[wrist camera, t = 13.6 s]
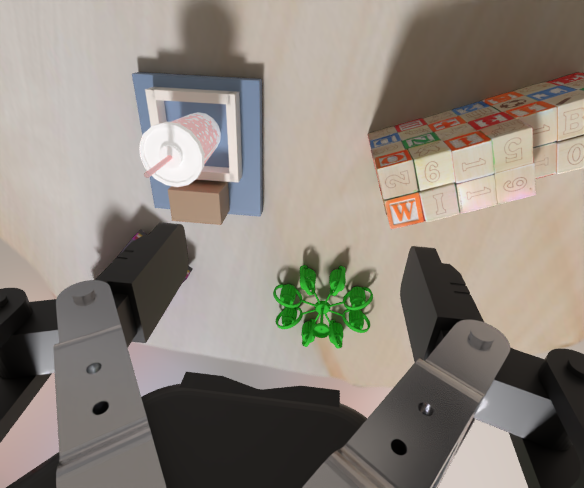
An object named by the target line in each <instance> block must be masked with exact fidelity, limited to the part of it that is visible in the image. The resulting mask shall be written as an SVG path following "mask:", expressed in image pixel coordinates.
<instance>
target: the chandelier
mask: <svg viewBox="0 0 584 488" xmlns="http://www.w3.org/2000/svg"><path fill="white" fill-rule="evenodd" d="M345 271H346V270H345V267H343V266H340V267H339V268H338V269H336V270H333V271H332V272H331V273H330V280H329V283H330V294H329V295H328V297H327V299H326V301H319V299H318V297H317V295H316V293H315V281H316V274H315V272H314V271H313V270H312V269H309V268H308V267H307V266H306V265H303V266H301V267H300V286H301V288H302V289H303V290H305V291H306V292H307V294H308V295H313V294H314V295H315V297H316V299H317V301H318V302H317V303H316V304H312V303H309V302H306V301H304V300H302V295H301V294H300V292H299V291H298V290H297V289H295V287H294V286H293V285H290V284H287V285H283V284H281V285H278V286H276V288H275V289H274V292H273V295H274V298H275V299H276V301H277V302H278V303H280V304H281V305H283V306H285V308H284V310H283V311H282V312H280V313H279V315H278V316H277V318H276V324H277V326H278V327H279V328H281V329H288V328H291V327H293V326H295V325H296V324H297V323H298V322H299V321H300V320H301V318H302V316H303V314H306V313H310V312H314V311H317V312H318V315H317V317H316V319H315V320H314V319H311V320H310V321H311V322H310V321H308V322H305V323H304V324H303V327H302V339H303V340H302V345H303V346H305V347H307V346H308V345H309V343H311V342H313V341H314V338H315V336H316V337H319V338H325V337H327V336H328V335H329V339H330V342H331V343H333V344H334V345H335V347H336V348H341V347H342V338H343V327H342V325H341V324H340V323H334V322H336V321H335V320H331V321H330V320H329V318H328V316H327V314H326V313H328V311H329V312H332V313H335V314H338V315H340V316H342V318H343V321H344V323H345V324H346V325H347V326H348V327H349V328H350V329H352V330H353V331H356V332H359V333H364V332H367V331H368V329H369V328H370V321H369V319H368V318H367V317H366V315H364V314H363V313H362V311H361V310H359V309H362V308H364V307H366V306H367V305H368V304H370V302H371V301H372V299H373V294H372V292H371V290H370V289H369V288H366V287H362V288H361V287H353V288H352V289H351V290H350V291H349V292H348V293H347V294H346V295H345V296H344V298H343V302H339V303H336V304H332V305H330V304H329V303H328V302H327V301H328V299H329V297H330V295H332V296H336V295H337V294H338V292H339V291H342V290H343V289H344V286H345V283H346V282H345ZM309 278H310V279H309ZM289 286H290V287H289ZM278 288H282V289H281V294H280V299H279V298H278V297H277V295H276V289H278ZM310 290H312V292H311V291H310ZM364 290H366V291H368V292H370V293H371V295H370V298H369V299H368V301H366V297H365V291H364ZM333 291H334V292H333ZM296 294H297V295H298V296H299V298H300V302H299V303H298V304H293V302H294V300H295V296H296ZM349 295H350V302H351V305H352V307H350V306H347V305H346V304H345V302H346V299H347V298H348V296H349ZM365 301H366V302H365ZM301 302H304V303H307V304H310V305H312V306H315V309H314V310H311V311H307V312H304V313H302V310H301V309H300V308H299V307H298V306H299V305H300V304H301ZM342 303H344V305H345V307H346V308H347V309H346V310H345V311H344V313H343V314H340V313H337V312H334V311H331V310H329V309H330V307H331V306H335V305H339V304H342ZM296 309H297V310H300V315H299V317H298V319H297V320H296V317H297V310H296ZM354 310H355V311H354ZM346 312H349V322H348V321H347V320H346V318H345V313H346ZM290 313H291V314H290ZM320 314H321V319H320V323H318V324H316V321H317V319H318V317H319V315H320ZM323 314H325V316H326V318H327V320H328V322H329V327H328V325H326V324H324V323H323ZM281 316H282V324H283V326H280V325H278V321H279V319H280V317H281ZM364 319H365V320H366V322H367V325H368V328H367V329H364V330H361V329H362V328H363V325H364ZM315 324H316V325H315ZM338 344H339V345H338Z"/></svg>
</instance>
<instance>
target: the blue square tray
mask: <svg viewBox="0 0 584 488" xmlns="http://www.w3.org/2000/svg"><path fill="white" fill-rule="evenodd" d="M132 77H133V83H134V89H135V95H136V100H137V106H138V112H139V118H140V124H141V130H142V135H143V134H144V133H145V132H146V131H147V130H148V129H149V128H150V127H151V126H153V125H156V124H159V123H163V122H171V121H174V120H177V119H179V118H182V117H184V116H187V115H190V114H193V113H197V112H199V113H205V114H207V115H209V116H210V117H212V118H213V119H214V120H215V122H216V123H217V124H218V126H219V129H220V132H221V137H220V142H219V144H218V146H217V148H216V149H215V151H214V152H213V153H212V155H211V156H210V157H209V159H208V160H207V161H206V163H205V164H204V167H203V169H202V171H201V173H200V175H199V176H198V178H197V179H196V180H194V181H193V182H192V183H190V184H189V185H186V186H181V187H174V186H168V185H165V184H163V183H161V182H159V181H158V180H156V179H154V178H153V177H152V175H151V176H150V182H151V188H152V193H153V199H154V205H155V208H164V209H171V216H172V221H181V222H193V223H205V224H217V225H221V224H222V223H223V221H224V219H225V218H226V216H227V214H237V215H249V216H261V214H262V212H263V199H262V79H253V78H235V77H217V76H198V75H180V74H161V73H143V72H137V73H133V74H132Z"/></svg>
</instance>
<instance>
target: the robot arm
mask: <svg viewBox="0 0 584 488" xmlns="http://www.w3.org/2000/svg"><path fill="white" fill-rule="evenodd" d="M188 264H189V262H188V253H187V245H186V238H185V230H184V227H183V225H181V224H172V223H159V224H158V225H157V226H156V227H155V228H154V230H153V231H152V232H151V233H150V234H149V235H143V236H141V237H139V238H137V239H136V240H134V241H132V242H131V243H130V244H129V245H128V246H127V247H126V248H125V249H124V252H121V254H120V255H119V256H118V257H117V259H115V260H114V261H113V262H112V263H111V264H110V265H109V266H108V267H107V268H106V269H105V270H104V271H103V272H102V273H101V274H100V276H99V277H98V278H97V279H96V280H89V281H83V282H79V283H76V284H74V285H72V286H70V287H68V288H66V289H65V290H63V291H62V292H61V293H60V294H59V295H58V297H57V299H54V300H44V301H35V302H29V301H28V298H27V296H26V294H25V292H24V291H23V290H21V289H18V288H4V289H0V442H1V441H2V440H3V438H4V437H5V436H6V434H7V433H8V432H9V430H10V429H11V428H12V426H13V425H14V424H15V422H16V421H17V420H18V418H19V417H20V416H21V414H22V413H23V411H24V410H25V409H26V408H27V406H28V405H29V404H30V402H31V401H32V400H33V398H34V397H35V396H36V394H37V393H38V391H39V390H40V388H41V387H42V386H43V385H44V383H45V382H46V381H47V379H48V378H49V377H50V375H51V374H52V373H55V384H56V385H55V387H56V403H57V420H58V437H59V452H58V453H57V454H55V455H54V456H52V457H51V458H50V459H48V460H46V461H45V462H43V463H42V464H40V465H39V466H37V467H36V468H34V469H33V470H31V471H30V472H28V473H27V474H25V475H24V476H23V477H21V478H20V479H18V480H17V481H15V482H14V483H12V484H11V485H9V486H8V487H6V488H438V486H439V484H440V483H441V481H442V479H443V477H444V475H445V473H446V471H447V469H448V468H449V466H450V464H451V462H452V460H453V459H454V457H455V455H456V453H457V451H458V450H459V447H460V446H461V444H462V443H463V441H464V439H465V437H466V435H467V434H468V432H469V430H470V428H471V426H472V424H473V423H474V421H475V419H477V420H479V421H482V422H484V423H487V424H489V425H492V426H494V427H496V428H499V429H501V430H504V431H506V432H509V434H510V437H511V440H512V443H513V446H514V448H515V451H516V454H517V457H518V460H519V463H520V465H521V468H522V471H523V474H524V476H525V480H526V482H527V485H528V488H584V354H582V353H579V352H577V351H573V350H569V349H554V350H552V351H550V352H549V353H548V355H547V356H546V358H545V359H541V358H539V357H535V356H532V355H529V354H526V353H523V352H520V351H518V350H515V349H513V348H511V347H510V343H509V341H508V340H507V338H506V337H505V336H504V335H503V334H502V333H501V332H500V331H499V330H498V329H496V328H495V327H493V326H491V325H489V324H487V323H484V321H483V319H482V317H481V315H480V313H479V311H478V309H477V306H476V304H475V302H474V300H473V298H472V296H471V295H470V292H469V290H468V288H467V286H465V285H466V284H465V282H464V280H463V278H462V276H461V274H460V273H459V272H458V271H457V270H456V269H455V268H454V267H452V266H451V265H450V264H444V263H441V260H440V258H439V256H438V253H437V251H436V249H435V248H427V247H416V246H412V247H411V248H410V251H409V254H408V259H407V263H406V267H405V271H404V275H403V279H402V283H401V290H400V297H401V303H402V308H403V312H404V317H405V321H406V326H407V330H408V335H409V339H410V344H411V348H412V352H413V357H414V361H415V363H414V364H413V366H412V367H411V368H410V369H409V370H408V372H407V373H406V374H405V375H404V376H403V377H402V379H401V380H400V381H399V382H398V383H397V384H396V386H395V387H394V388H393V389H392V390H391V392H390V393H389V394H388V395H387V396H386V397H385V399H384V400H383V401H382V402H381V404H380V405H379V406H378V407H377V408H376V409H375V410H374V412H373V413H372V414H371V415H370V416H369V417H368V419H367V418H366V417H365V416H363V415H362V414H360V413H359V412H357V411H356V410H354V409H352V408H350V407H348V406H346V405H343V404H341V403H340V398H339V397H340V393H339V392H340V391H339V390H332V389H324V388H315V387H307V386H294V387H284V388H274V389H265V390H260V389H256V388H253V387H250V386H248V385H245V384H242V383H240V382H237V381H234V380H232V379H229V378H226V377H224V376H217V375H209V374H200V373H192V372H186V373H185V376H184V378H183V380H182V382H181V384H176V385H172V386H167V387H164V388H161V389H157V390H155V391H153V392H151V393H148V394H146V395H144V396H143V397H141V395H140V391H139V388H138V384H137V381H136V377H135V373H134V370H133V366H132V363H131V359H130V355H129V352H128V346H129V345H130V343H131V342H141V343H146V342H147V340H148V339H149V337H150V335H151V334H152V332H153V330H154V329H155V327H156V325H157V324H158V322H159V320H160V319H161V317H162V316H163V314H164V312H165V311H166V309H167V307H168V306H169V304H170V302H171V301H172V299H173V297H174V296H175V294H176V292H177V291H178V289H179V287H180V286H181V284H182V283H183V281H184V279H185V277H186V275H187V272H188Z"/></svg>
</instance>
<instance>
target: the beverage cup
mask: <svg viewBox="0 0 584 488" xmlns="http://www.w3.org/2000/svg"><path fill="white" fill-rule="evenodd" d="M220 137H221V132H220V129H219V126H218V124H217V123H216V122H215V120H214V119H213V118H212V117H210V116H209V115H207V114H205V113H199V112H197V113H193V114H190V115H187V116H184V117H182V118H179V119H177V120H174V121H171V122H163V123H159V124H156V125H153V126H151V127H150V128H149V129H148V130H147V131H146V132H145V133H144V134H143V136H142V139H141V141H140V144H139V148H140V158H141V160H142V162H143V164H144V167H145V169H146V170H147V172H145V173H144V176H145V177H146V178H149V177H150V176H151V175H152V177H153V178H154V179H156V180H158V181H159V182H161V183H163V184H165V185H168V186H174V187H181V186H186V185H189V184H190V183H192V182H193V181H194V180H196V179H197V178H198V176H199V175H200V173H201V171H202V169H203V167H204V164H205V163H206V161H207V160H208V159H209V157H210V156H211V155H212V153H213V152H214V151H215V149H216V148H217V146H218V144H219V142H220Z"/></svg>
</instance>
